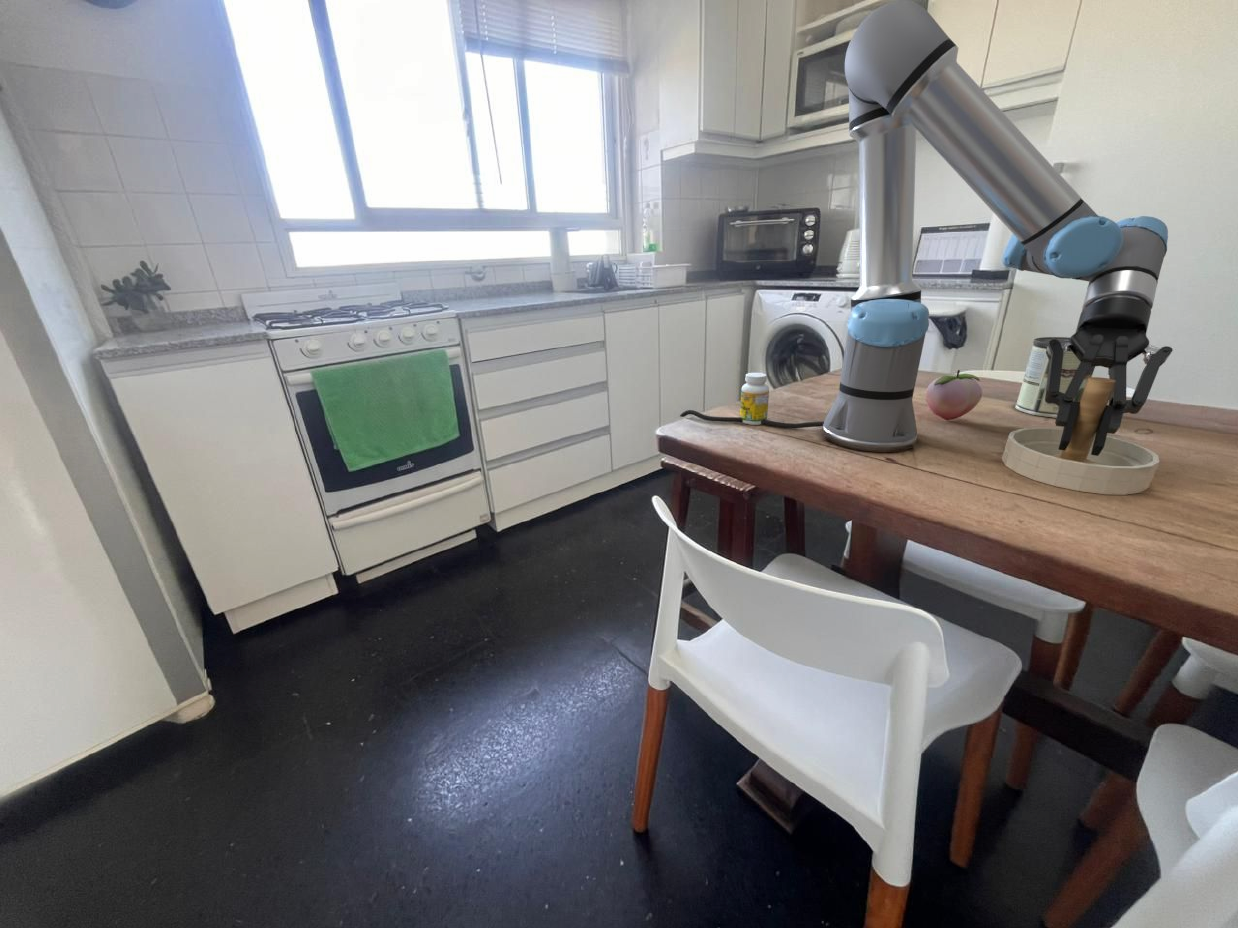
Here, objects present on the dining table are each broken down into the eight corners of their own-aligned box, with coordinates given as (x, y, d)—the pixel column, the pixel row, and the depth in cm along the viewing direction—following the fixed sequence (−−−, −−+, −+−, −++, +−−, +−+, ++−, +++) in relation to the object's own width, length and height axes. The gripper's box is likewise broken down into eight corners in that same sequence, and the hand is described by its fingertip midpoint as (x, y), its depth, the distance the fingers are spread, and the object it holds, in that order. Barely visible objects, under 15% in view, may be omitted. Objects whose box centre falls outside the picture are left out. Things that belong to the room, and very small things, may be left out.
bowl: (1015, 487, 69) (1024, 458, 67) (991, 448, 83) (998, 423, 81) (1171, 507, 63) (1186, 475, 61) (1117, 461, 76) (1128, 434, 74)
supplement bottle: (771, 423, 98) (776, 376, 95) (747, 426, 97) (750, 378, 93) (758, 416, 103) (761, 370, 99) (734, 419, 102) (737, 373, 98)
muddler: (1054, 470, 71) (1085, 382, 66) (1043, 458, 75) (1072, 374, 70) (1098, 475, 69) (1134, 385, 64) (1085, 462, 73) (1117, 376, 68)
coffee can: (1051, 403, 105) (1072, 335, 99) (1093, 417, 95) (1120, 344, 90) (1002, 404, 105) (1021, 337, 100) (1039, 419, 96) (1062, 345, 90)
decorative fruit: (944, 411, 102) (956, 363, 98) (982, 423, 95) (996, 371, 91) (909, 417, 99) (919, 368, 95) (945, 429, 92) (958, 376, 88)
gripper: (1181, 331, 71) (1151, 473, 66) (1041, 324, 81) (1005, 448, 76) (1205, 295, 66) (1173, 448, 60) (1051, 292, 75) (1013, 424, 70)
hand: (1080, 448), depth 68 cm, fingers closed on muddler, 3 cm apart
